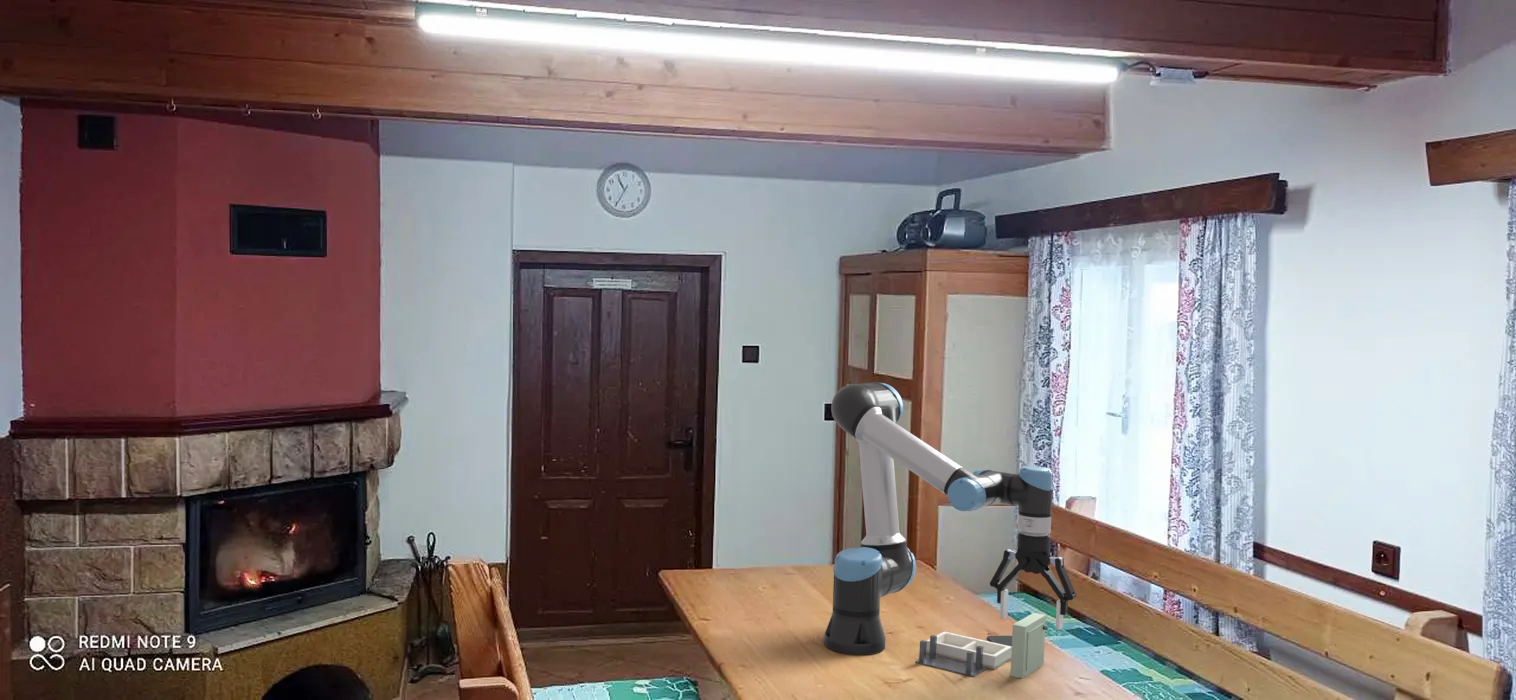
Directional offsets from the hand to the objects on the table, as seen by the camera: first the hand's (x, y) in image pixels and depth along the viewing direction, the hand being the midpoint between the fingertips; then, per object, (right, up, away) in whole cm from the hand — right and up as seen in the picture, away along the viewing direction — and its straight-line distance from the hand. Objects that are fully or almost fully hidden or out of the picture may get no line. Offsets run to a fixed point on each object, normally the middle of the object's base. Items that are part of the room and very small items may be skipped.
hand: (1031, 622), depth 258 cm
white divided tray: (-13, -10, +9) cm, 19 cm away
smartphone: (-1, -11, +18) cm, 21 cm away
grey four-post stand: (-19, -11, +1) cm, 22 cm away
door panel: (-1, -11, +1) cm, 11 cm away
